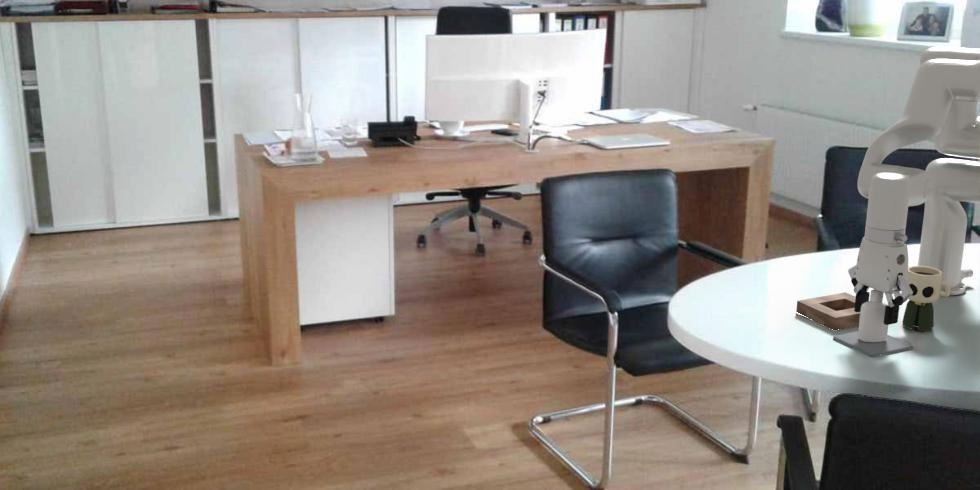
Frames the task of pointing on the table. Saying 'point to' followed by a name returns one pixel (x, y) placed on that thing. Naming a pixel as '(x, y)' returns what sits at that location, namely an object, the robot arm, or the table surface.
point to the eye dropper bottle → (873, 319)
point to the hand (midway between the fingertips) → (875, 316)
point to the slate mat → (873, 344)
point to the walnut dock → (831, 310)
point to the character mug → (923, 296)
